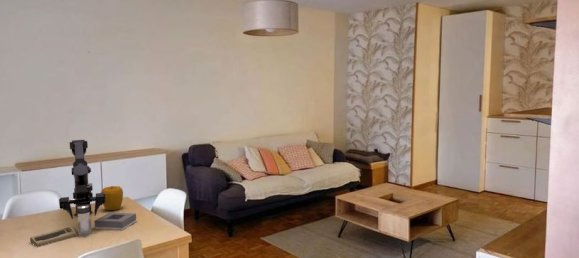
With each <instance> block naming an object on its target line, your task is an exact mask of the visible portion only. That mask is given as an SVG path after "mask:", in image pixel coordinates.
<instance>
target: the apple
mask: <svg viewBox="0 0 579 258" xmlns="http://www.w3.org/2000/svg"><path fill="white" fill-rule="evenodd" d="M100 193H105V203H104V204H102V205H103V206H104V208H105V209H106V210H108V211H116V210H118V209H120V208H121V206H122V203H123V200H124V199H123V198H124V191H123V188H122V187H121V186H120V185H119V186H118V185H115V186H114V185H111V186H105V187H103V188H102V189H101V191H100Z"/></svg>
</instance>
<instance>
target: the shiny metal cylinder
mask: <svg viewBox="0 0 579 258" xmlns="http://www.w3.org/2000/svg"><path fill="white" fill-rule="evenodd" d="M76 217H77V228H78V236H79V237H87V236H90V235H91V234H92V222H91V213H90V206H89V205H87V204H85V205H79V206H77V215H76Z"/></svg>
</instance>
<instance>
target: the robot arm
mask: <svg viewBox="0 0 579 258" xmlns="http://www.w3.org/2000/svg"><path fill="white" fill-rule="evenodd" d="M68 144H69V150H71V154H72V155H73V156H74V162H73V163H72V167H71V176H73V177H74V179H73V180H74V188H73V190H74V191H73V192H72V198H73V199H71V198H70V197H69V196H63V197H59V199H58V204H59V209H60V210H63V211H66V212H67V213H68V215H69V217H70V219H71V220H73V219H74V217H73V215H74V216H77V206H79V205H85V204H87V205H89V206H90V214H92V213H93V210H92V204H91V203H93V202H94V216H95V217H96V216H97V213H98V211H99V209H100V207H101V206H102V205H103V204H104V203H105V193H101V192H97V193H95V196H93V195H94V194H93V192H92V191H93V190H94V188H93V183H92V182H90V183H89V174H90V173H91V172H92V168H91V167H90V166H89V165H88V161H86V160H85V155H86V153H87V149H88V147H89V146H88V141H87V140H85V139H74V140H71V141H69V143H68ZM71 205H75V213H74V214H73V211H72V206H71Z"/></svg>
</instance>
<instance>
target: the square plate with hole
mask: <svg viewBox="0 0 579 258" xmlns="http://www.w3.org/2000/svg"><path fill="white" fill-rule="evenodd" d="M93 222H94V229H95V230H111V231H116V230H117V231H123V230H124V231H125V230H126V229H127V228H129V227H131V226H132V225H134V224H135V223H136V222H137V213H133V212H132V213H128V212H108V213H106V214H104V215H102V216H100V217H98V218H95V219H94V221H93Z"/></svg>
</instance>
